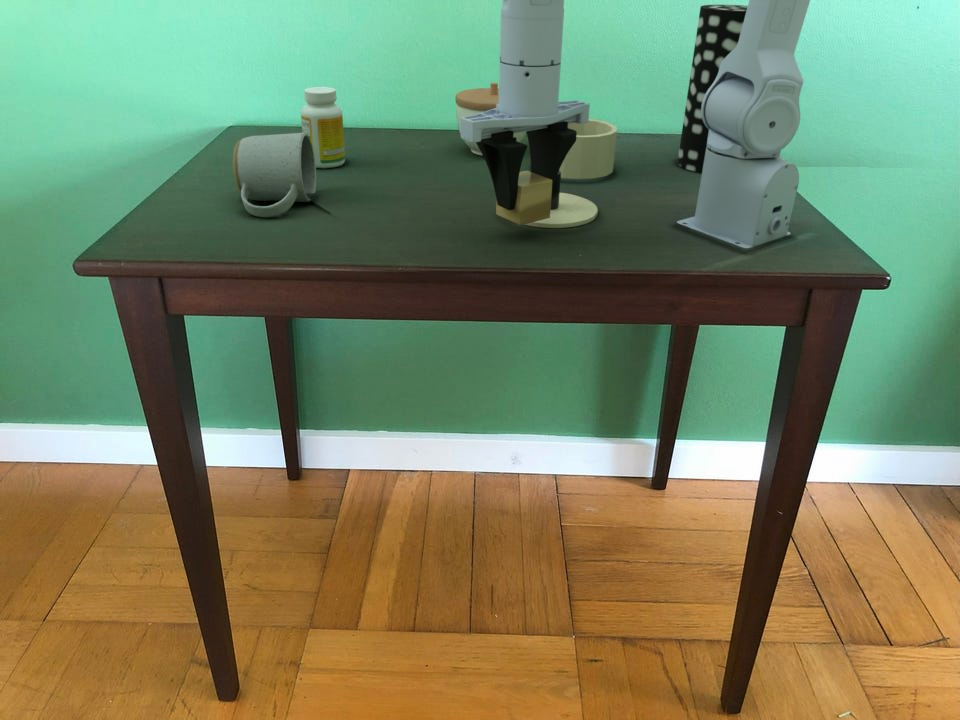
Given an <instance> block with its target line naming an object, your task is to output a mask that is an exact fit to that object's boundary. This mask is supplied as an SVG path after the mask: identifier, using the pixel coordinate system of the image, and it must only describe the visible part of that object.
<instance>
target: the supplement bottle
mask: <svg viewBox="0 0 960 720" xmlns="http://www.w3.org/2000/svg"><path fill="white" fill-rule="evenodd" d="M304 100H305V102H306V104H305V105H304V106H302V108H301V110H300V119H301V131H302V132H301V133H306V134H307V135H308V136H309V137H310V140H311V143H312V146H313V151H314V157H315V164H316V169H330V168H332V169H333V168H338V167H341V166H342V165H344V164H345V163H346V150H345V134H344V133H345V132H344V116H343V110H342V108H341V107H340V106H339V105H337V104H335V102H336V101H337V90H336V88H334V87H330V86H313V87H307V88H305V89H304Z"/></svg>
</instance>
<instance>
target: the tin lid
mask: <svg viewBox="0 0 960 720" xmlns="http://www.w3.org/2000/svg"><path fill="white" fill-rule="evenodd" d="M561 181H562V178H561V172H560V171H559V172H558V175H557V177H556V180H555V183H554V186H553V189H552V194H551V210H550V218H548V219H544V220H540V221H536V222H532V223H528V224H524V225H523V226H529V227H534V228H544V229H545V228H546V229H564V228H574V227H579V226H583V225H586V224H588V223H591V222H593V221H594V220H595V219H596V218H597V216H598V211H599V209H598V207H597V205H596V204H595V203H594V202H592V201H591V200H590V199H587V198H585V197H581V196H580V195H575V194H571V193H566V192H561Z"/></svg>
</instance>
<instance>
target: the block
mask: <svg viewBox="0 0 960 720" xmlns="http://www.w3.org/2000/svg"><path fill="white" fill-rule="evenodd" d="M551 194H552V180H551V179H548V178H546V177H543V176H540V175H538V174H535V173H533V172H531V170H523V171H520V173H519V179H518V192H517V200H516V205H515V208H514V209H513V210H507V209H505V208H503V207H501V206H498V204H497V199H496V198H495V199H496V200H495V215H497V216H498V217H501V218H503V219H505V220H507V221H510V222H512V223H513V224H516V225H518V226H525V225H524V224H528V223H532V222H536V221H540V220H544V219H548V218H550V210H551Z"/></svg>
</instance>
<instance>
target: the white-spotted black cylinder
mask: <svg viewBox="0 0 960 720" xmlns="http://www.w3.org/2000/svg"><path fill="white" fill-rule="evenodd" d="M747 7H748V5H742V4H703V5H700V8H699V14H698V22H697V28H696V35H695V41H694V48H693V55H692V62H691V68H690V76H689V82H688V88H687V95H686V102H685V110H684V115H683V123H682V128H681V136H680V143H679V148H678V149H679V150H678V156H677V163H676V164H677V165H678V166H679V167H681V168H683V169H685V170H689V171H691V172H695V173H696V172H697V173H701V174H702V170H703V164H704V158H705V152H706V147H707V139H708V133H709V129H708V128H707V127H706V126H705V124H704V122H703V120H702V116H701V106H702V101H703V98H704V96H705V94H706V92H707V90H708V89H709V88H710V86H711V85H712V84H713V82H714V81H715V79H716V77H717V75H718V72H719V68H720V64H721V62H722V61H723V59H724V58H725V57H726V56H727V55H728V54H729V53H730V52H731V51H732V50H733V49H734V48H735V47H736V46H737V44H738V41H739V37H740V34H741V30H742V26H743V22H744V19H745V15H746V11H747Z"/></svg>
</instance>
